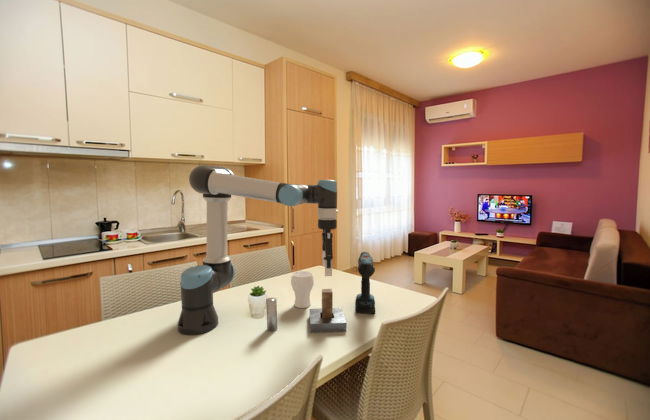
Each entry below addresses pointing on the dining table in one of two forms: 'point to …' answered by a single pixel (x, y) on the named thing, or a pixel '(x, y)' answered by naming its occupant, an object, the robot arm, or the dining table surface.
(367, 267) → the power drill
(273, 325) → the round bit
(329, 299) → the square bit
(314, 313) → the socket block
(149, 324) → the dining table surface
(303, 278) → the cup
